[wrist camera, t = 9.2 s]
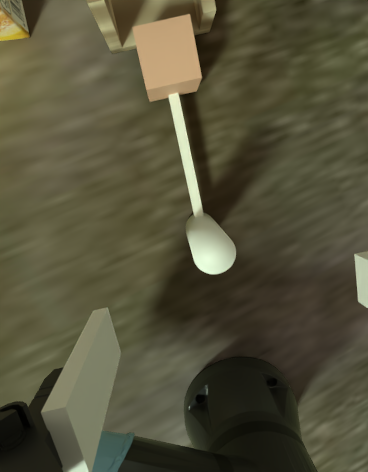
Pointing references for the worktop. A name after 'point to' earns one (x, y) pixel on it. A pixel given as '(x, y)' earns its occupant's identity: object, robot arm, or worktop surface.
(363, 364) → the worktop surface
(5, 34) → the beverage box
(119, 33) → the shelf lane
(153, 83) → the tethered block
